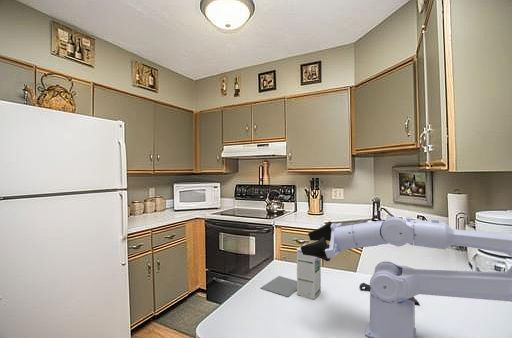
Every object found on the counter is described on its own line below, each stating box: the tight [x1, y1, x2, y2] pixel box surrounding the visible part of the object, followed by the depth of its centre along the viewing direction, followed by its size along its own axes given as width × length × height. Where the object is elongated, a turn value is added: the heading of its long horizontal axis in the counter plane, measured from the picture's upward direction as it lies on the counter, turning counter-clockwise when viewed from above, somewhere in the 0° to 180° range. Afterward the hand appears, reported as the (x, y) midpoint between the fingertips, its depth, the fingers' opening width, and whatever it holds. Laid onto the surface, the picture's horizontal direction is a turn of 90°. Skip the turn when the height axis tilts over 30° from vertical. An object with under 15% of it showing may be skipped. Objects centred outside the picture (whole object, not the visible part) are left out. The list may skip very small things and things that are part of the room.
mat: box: [260, 275, 297, 298], centre depth 86 cm, size 10×12×1 cm
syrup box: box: [296, 244, 322, 300], centre depth 81 cm, size 6×6×14 cm
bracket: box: [358, 282, 421, 307], centre depth 83 cm, size 14×15×3 cm
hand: (305, 243), depth 72 cm, fingers open, 7 cm apart
